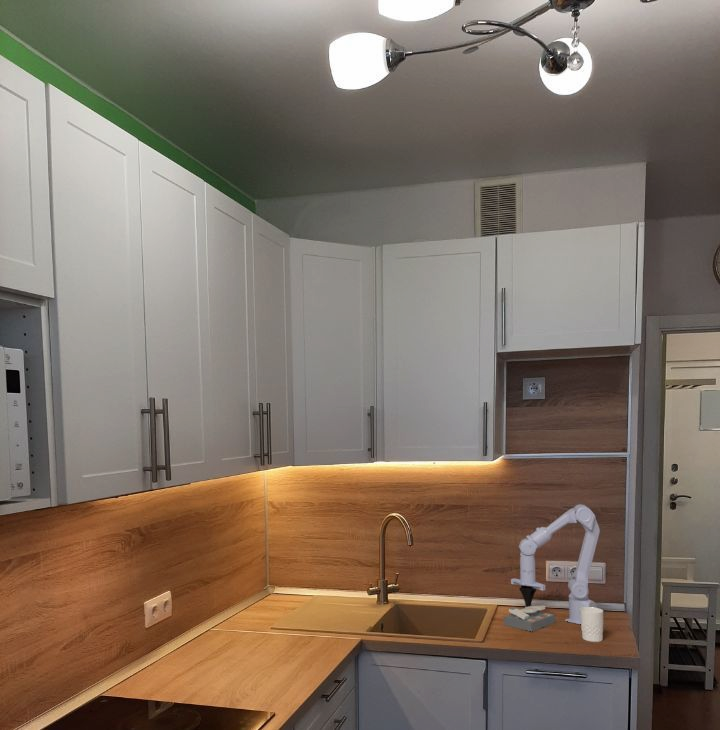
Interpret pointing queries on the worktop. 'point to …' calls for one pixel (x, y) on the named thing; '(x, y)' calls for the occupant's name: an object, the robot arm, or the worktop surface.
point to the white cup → (591, 624)
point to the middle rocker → (528, 610)
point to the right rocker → (536, 607)
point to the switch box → (530, 620)
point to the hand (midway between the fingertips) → (528, 606)
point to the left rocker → (518, 613)
